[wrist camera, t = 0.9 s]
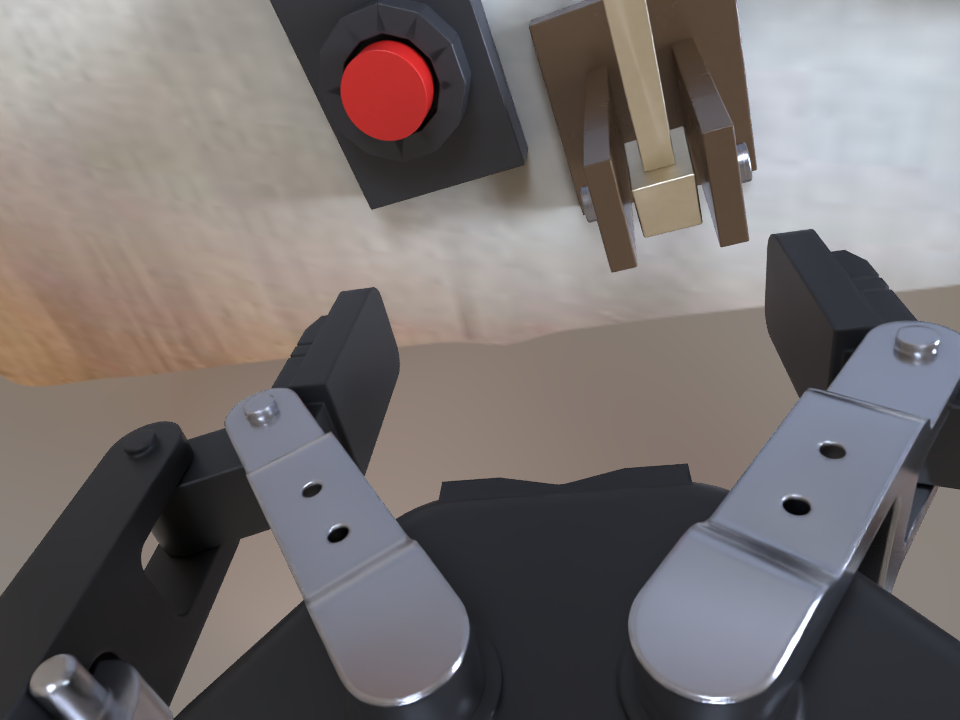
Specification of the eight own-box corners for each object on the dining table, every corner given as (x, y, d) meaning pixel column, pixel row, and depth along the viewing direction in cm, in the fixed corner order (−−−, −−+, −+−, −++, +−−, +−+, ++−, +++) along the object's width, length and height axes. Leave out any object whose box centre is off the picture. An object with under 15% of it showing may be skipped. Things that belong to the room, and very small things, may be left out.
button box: (276, -30, 32) (242, -15, 29) (446, -106, 29) (429, -98, 26) (381, 193, 39) (362, 225, 36) (528, 149, 36) (522, 179, 33)
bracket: (530, 20, 32) (501, 106, 22) (726, -51, 29) (793, 11, 19) (583, 205, 38) (579, 340, 28) (752, 160, 35) (815, 293, 25)
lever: (494, -94, 18) (497, -40, 16) (707, -186, 16) (727, -133, 15) (597, 202, 27) (603, 248, 26) (734, 165, 26) (747, 213, 25)
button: (336, 56, 31) (324, 67, 29) (414, 26, 30) (405, 36, 28) (373, 138, 33) (363, 151, 32) (447, 113, 32) (440, 126, 30)
